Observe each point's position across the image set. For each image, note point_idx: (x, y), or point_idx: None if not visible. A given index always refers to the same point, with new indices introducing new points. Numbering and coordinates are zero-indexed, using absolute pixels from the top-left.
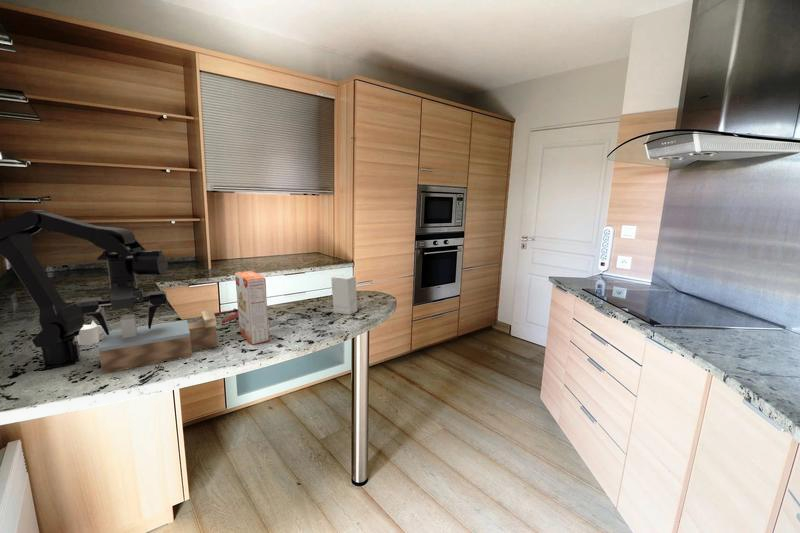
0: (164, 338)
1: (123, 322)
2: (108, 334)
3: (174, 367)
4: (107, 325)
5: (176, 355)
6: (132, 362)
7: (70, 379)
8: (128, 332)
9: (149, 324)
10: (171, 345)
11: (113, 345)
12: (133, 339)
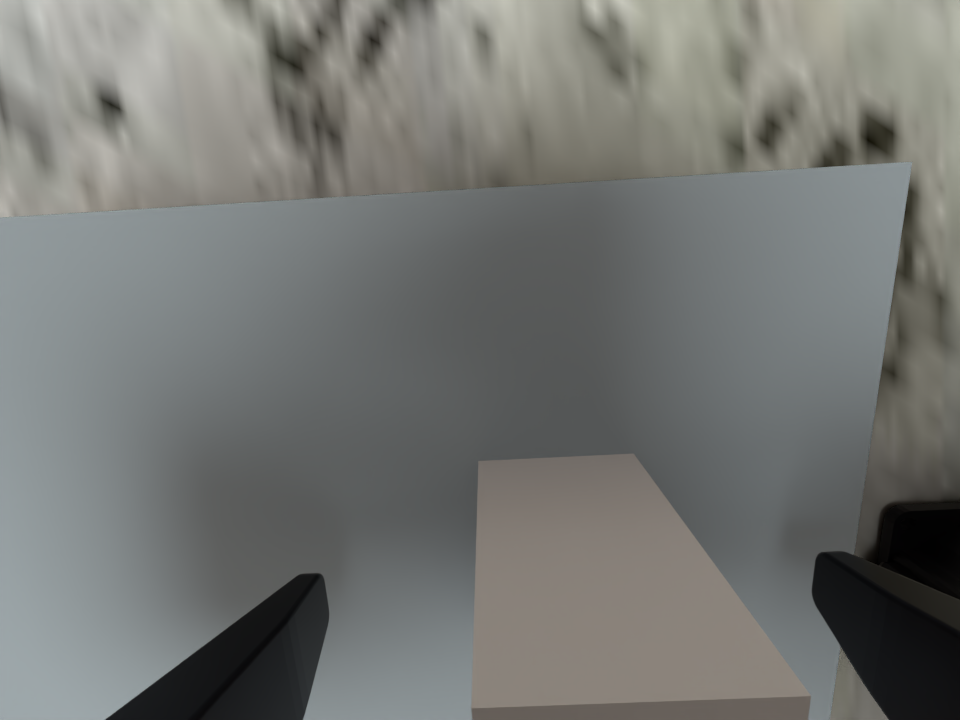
0: (103, 212)
1: (703, 637)
2: (826, 553)
3: (188, 47)
4: (951, 717)
5: None
6: None
7: (907, 206)
8: (572, 491)
9: (269, 614)
10: None
11: (729, 176)
12: (496, 327)
